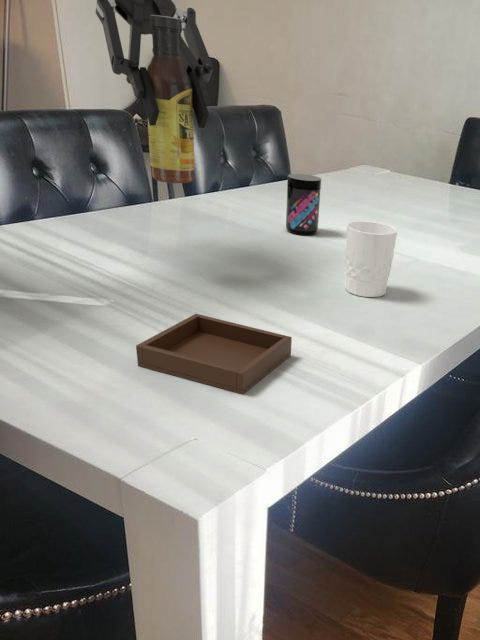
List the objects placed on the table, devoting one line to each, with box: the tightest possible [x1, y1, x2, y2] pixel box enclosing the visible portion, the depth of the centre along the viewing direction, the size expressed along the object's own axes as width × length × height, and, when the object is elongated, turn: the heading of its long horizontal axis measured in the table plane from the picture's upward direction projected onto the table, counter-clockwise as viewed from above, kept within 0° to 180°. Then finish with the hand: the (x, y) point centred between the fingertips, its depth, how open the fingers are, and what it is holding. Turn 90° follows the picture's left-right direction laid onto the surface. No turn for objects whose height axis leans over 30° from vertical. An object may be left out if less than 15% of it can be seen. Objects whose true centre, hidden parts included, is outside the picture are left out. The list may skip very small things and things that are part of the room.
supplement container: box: [285, 173, 322, 236], centre depth 131 cm, size 7×7×10 cm
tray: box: [135, 313, 293, 395], centre depth 77 cm, size 14×13×2 cm
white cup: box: [344, 220, 398, 298], centre depth 104 cm, size 8×8×10 cm
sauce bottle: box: [146, 15, 196, 184], centre depth 90 cm, size 6×6×20 cm
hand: (179, 119), depth 88 cm, fingers closed on sauce bottle, 6 cm apart
